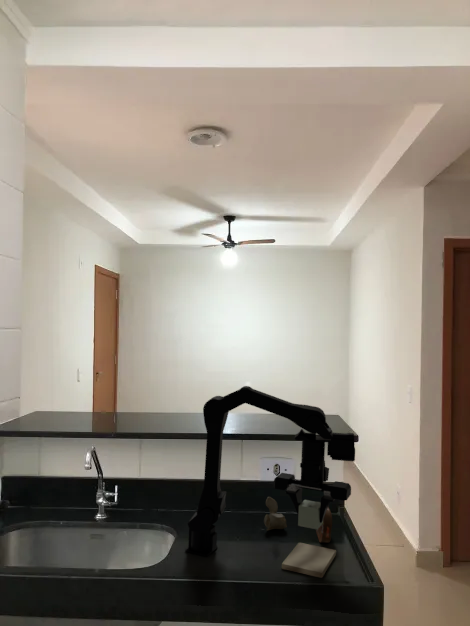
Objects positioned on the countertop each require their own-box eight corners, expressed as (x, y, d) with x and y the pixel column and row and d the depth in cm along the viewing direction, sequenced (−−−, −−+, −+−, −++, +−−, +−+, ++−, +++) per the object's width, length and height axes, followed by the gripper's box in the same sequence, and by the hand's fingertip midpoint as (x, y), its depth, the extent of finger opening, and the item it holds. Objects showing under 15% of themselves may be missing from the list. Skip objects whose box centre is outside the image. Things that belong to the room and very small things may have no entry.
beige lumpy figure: (284, 531, 149) (269, 497, 152) (265, 539, 151) (250, 505, 154) (294, 523, 157) (279, 490, 160) (276, 531, 159) (261, 498, 162)
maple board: (281, 568, 130) (281, 563, 130) (298, 546, 143) (298, 542, 143) (321, 577, 126) (322, 572, 126) (335, 554, 139) (336, 550, 139)
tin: (314, 526, 158) (315, 497, 158) (325, 526, 158) (326, 498, 158) (320, 548, 143) (321, 516, 143) (332, 548, 143) (333, 516, 143)
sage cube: (298, 525, 133) (298, 505, 134) (303, 519, 138) (304, 499, 138) (317, 529, 131) (318, 509, 131) (322, 522, 136) (323, 503, 136)
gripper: (356, 456, 138) (354, 516, 138) (287, 446, 146) (285, 504, 146) (347, 466, 128) (345, 531, 128) (273, 455, 136) (271, 517, 136)
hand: (310, 520), depth 135 cm, fingers closed on sage cube, 5 cm apart
